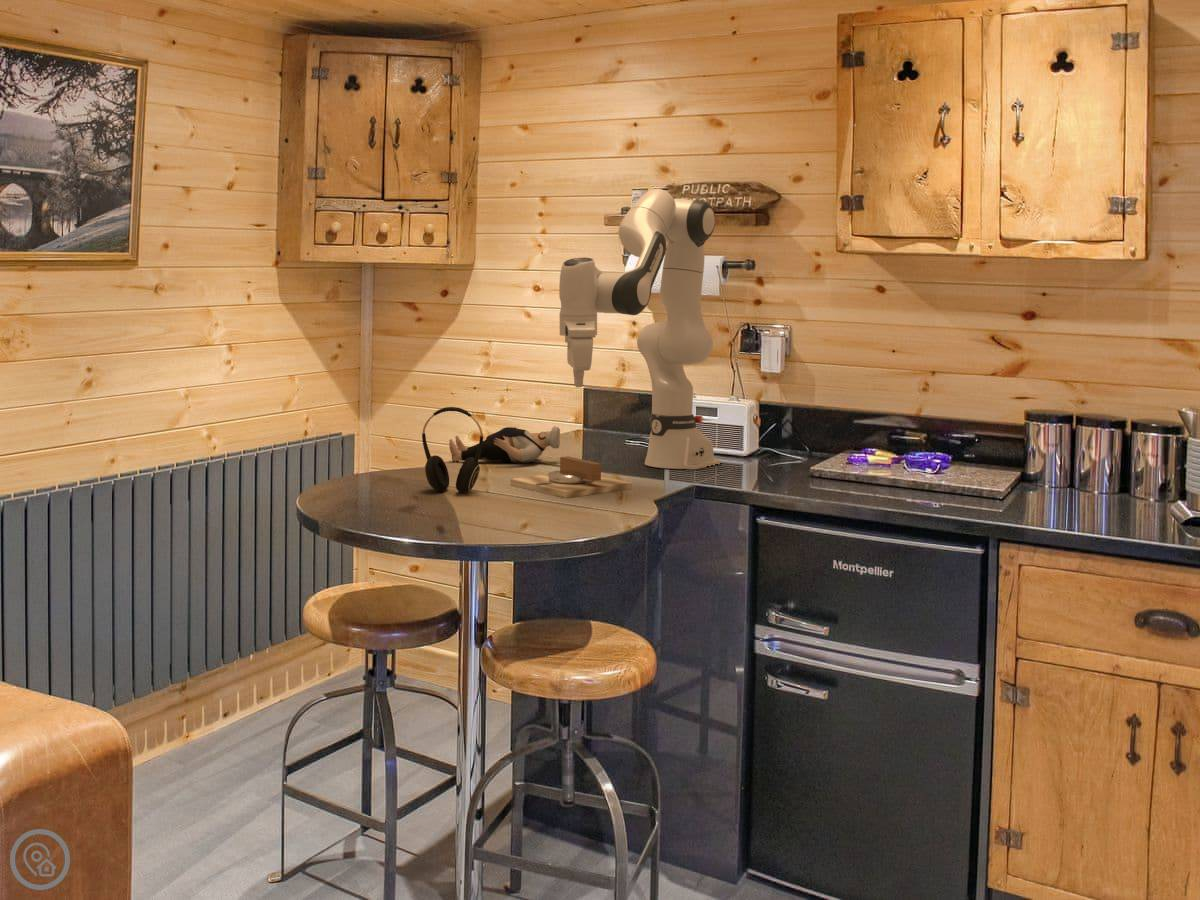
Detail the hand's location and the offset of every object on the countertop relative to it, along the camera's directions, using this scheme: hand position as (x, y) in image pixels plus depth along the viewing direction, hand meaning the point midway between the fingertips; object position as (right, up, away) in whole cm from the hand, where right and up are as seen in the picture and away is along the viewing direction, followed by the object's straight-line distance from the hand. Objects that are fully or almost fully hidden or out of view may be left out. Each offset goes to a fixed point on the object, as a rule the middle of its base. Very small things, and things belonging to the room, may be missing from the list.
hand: (578, 386), depth 265 cm
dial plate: (-2, -24, +7) cm, 25 cm away
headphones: (-30, -25, -2) cm, 39 cm away
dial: (-1, -22, +5) cm, 23 cm away
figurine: (-21, -19, +45) cm, 53 cm away
